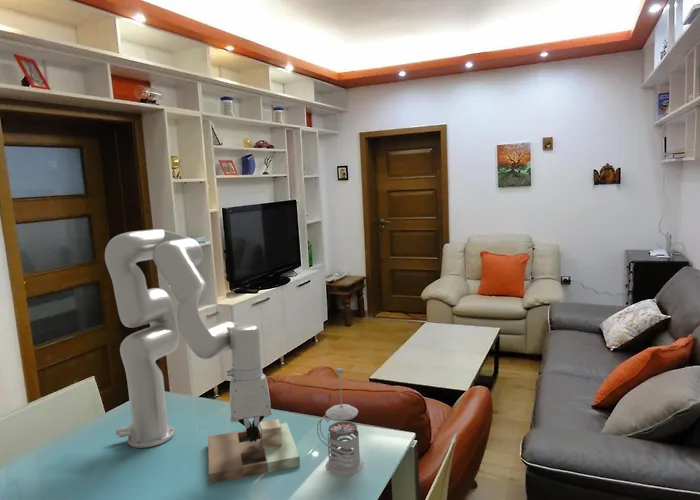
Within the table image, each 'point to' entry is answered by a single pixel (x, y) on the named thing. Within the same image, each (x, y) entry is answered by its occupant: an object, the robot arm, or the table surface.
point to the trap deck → (248, 455)
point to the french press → (345, 457)
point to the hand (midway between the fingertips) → (252, 439)
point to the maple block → (270, 433)
